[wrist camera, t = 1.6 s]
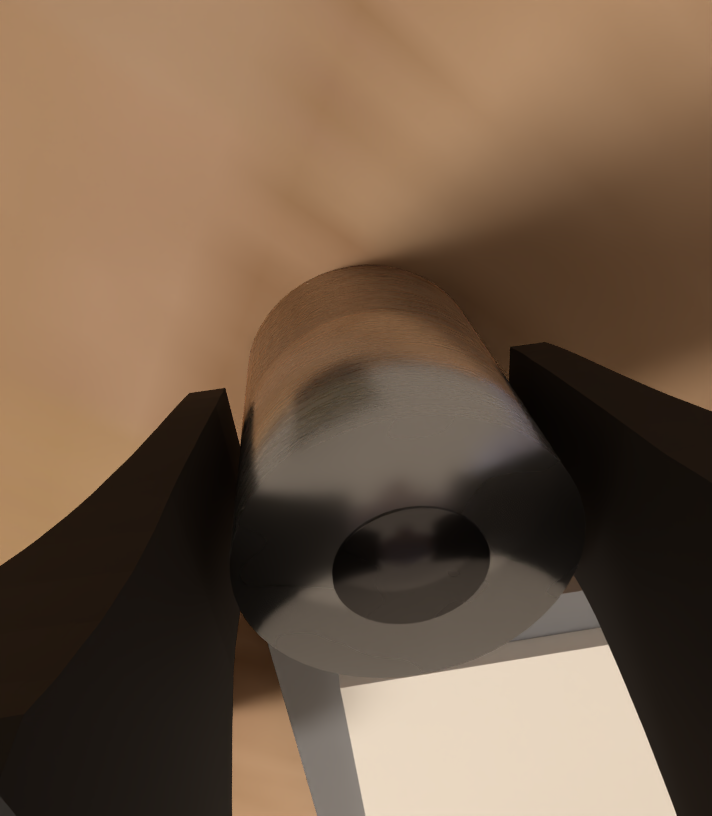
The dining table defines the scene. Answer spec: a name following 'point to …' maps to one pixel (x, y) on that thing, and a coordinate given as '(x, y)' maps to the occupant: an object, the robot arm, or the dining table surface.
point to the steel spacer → (392, 484)
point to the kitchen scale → (481, 731)
